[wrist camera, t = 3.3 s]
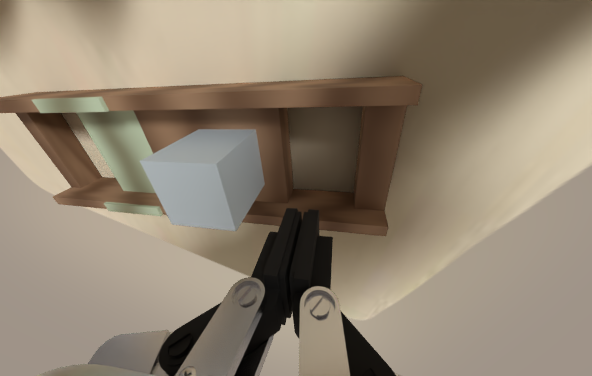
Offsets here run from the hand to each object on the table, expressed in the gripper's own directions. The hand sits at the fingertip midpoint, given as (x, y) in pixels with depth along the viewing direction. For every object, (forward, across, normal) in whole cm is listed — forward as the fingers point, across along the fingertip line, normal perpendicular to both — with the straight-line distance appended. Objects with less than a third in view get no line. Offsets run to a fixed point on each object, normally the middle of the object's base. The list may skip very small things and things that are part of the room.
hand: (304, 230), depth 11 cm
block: (+7, +7, -1) cm, 10 cm away
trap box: (+10, +12, -1) cm, 15 cm away
